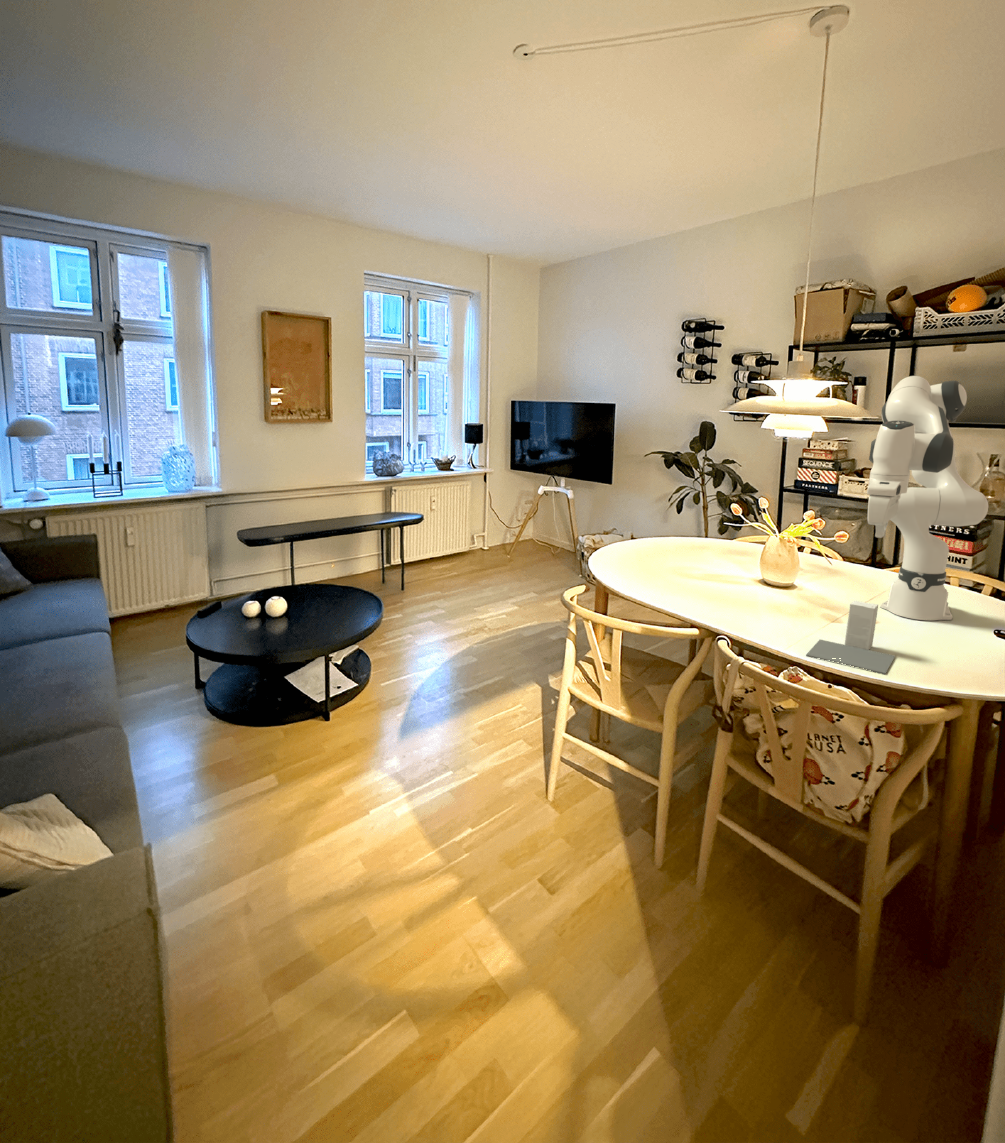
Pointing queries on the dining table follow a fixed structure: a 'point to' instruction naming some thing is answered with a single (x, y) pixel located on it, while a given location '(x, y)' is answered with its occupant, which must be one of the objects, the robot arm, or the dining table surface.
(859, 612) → the skincare box
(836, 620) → the dining table surface
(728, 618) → the dining table surface
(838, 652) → the mat
